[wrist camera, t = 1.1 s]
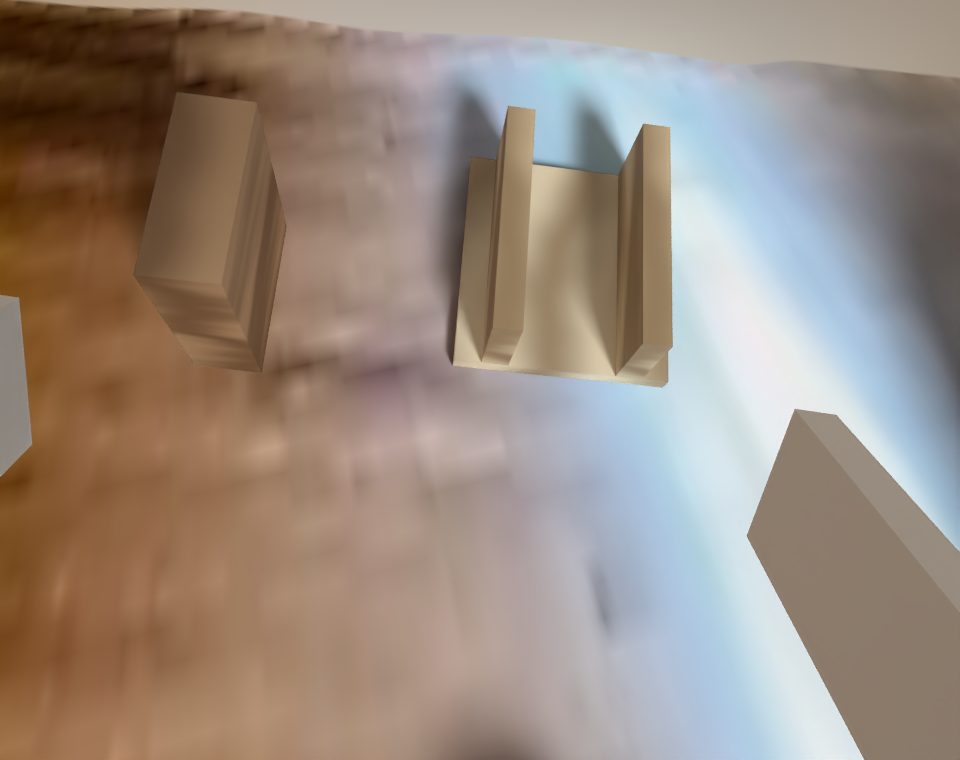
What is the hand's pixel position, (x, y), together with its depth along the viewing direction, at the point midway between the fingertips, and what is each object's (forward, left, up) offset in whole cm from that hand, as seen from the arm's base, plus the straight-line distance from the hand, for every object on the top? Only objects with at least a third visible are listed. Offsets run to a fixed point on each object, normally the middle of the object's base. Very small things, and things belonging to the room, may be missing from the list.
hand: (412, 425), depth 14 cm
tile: (+10, -14, -28) cm, 33 cm away
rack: (-8, -18, -28) cm, 34 cm away
